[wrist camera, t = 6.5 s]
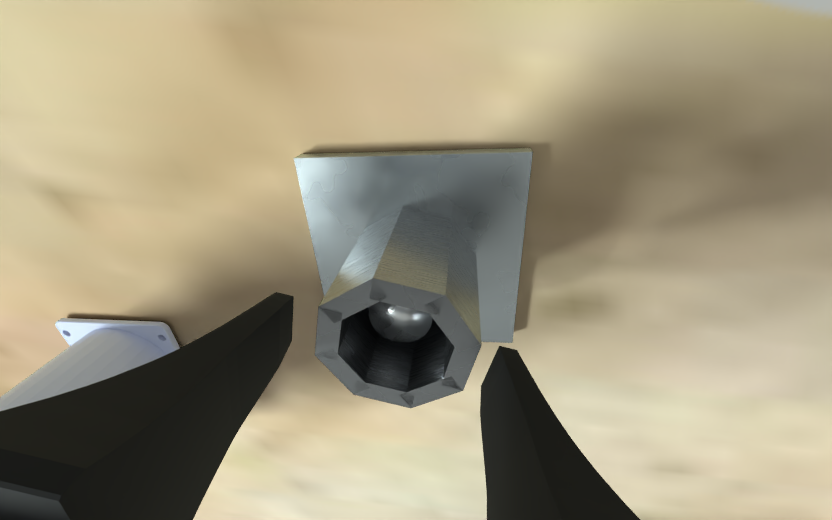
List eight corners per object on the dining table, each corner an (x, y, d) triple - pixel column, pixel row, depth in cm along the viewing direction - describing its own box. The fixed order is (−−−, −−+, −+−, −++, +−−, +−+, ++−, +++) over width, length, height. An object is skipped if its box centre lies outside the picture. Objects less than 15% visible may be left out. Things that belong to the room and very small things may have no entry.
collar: (486, 225, 16) (496, 307, 11) (455, 317, 18) (452, 418, 13) (368, 197, 16) (321, 265, 11) (355, 293, 18) (312, 384, 13)
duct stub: (510, 332, 20) (524, 414, 15) (337, 326, 21) (302, 399, 16) (529, 147, 15) (558, 186, 10) (301, 153, 16) (237, 191, 11)
